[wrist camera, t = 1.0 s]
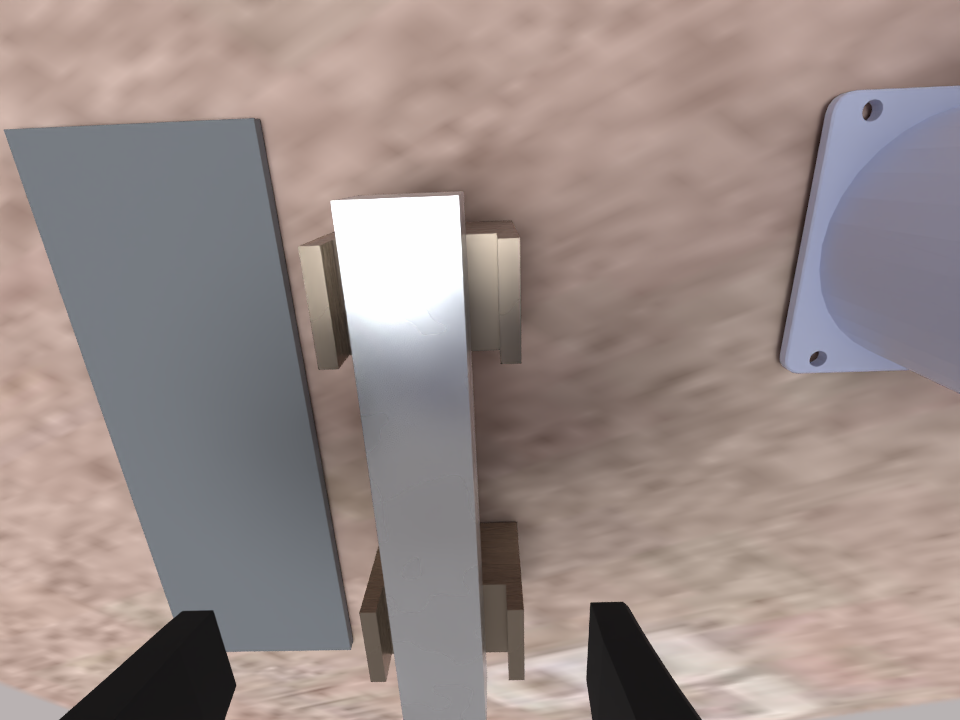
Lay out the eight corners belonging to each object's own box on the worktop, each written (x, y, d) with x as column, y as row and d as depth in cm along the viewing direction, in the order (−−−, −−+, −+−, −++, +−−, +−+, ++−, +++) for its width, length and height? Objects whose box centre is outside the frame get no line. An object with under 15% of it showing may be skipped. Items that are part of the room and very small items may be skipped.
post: (516, 522, 19) (523, 610, 15) (517, 583, 20) (524, 679, 16) (384, 525, 19) (359, 612, 15) (392, 586, 20) (370, 681, 16)
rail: (463, 190, 12) (458, 195, 10) (486, 673, 17) (486, 740, 15) (358, 195, 12) (330, 201, 10) (415, 673, 17) (406, 740, 15)
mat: (259, 119, 14) (253, 118, 14) (353, 641, 21) (350, 649, 21) (16, 130, 14) (3, 129, 14) (190, 643, 21) (185, 652, 21)
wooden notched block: (511, 220, 15) (519, 237, 11) (513, 317, 16) (520, 363, 12) (345, 227, 15) (298, 246, 11) (358, 323, 16) (318, 369, 12)
